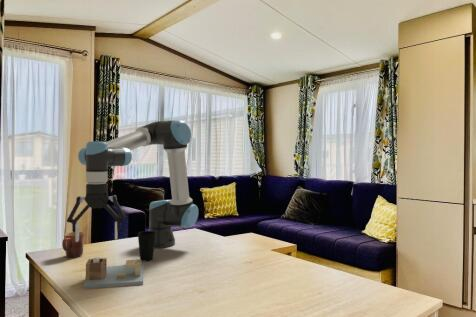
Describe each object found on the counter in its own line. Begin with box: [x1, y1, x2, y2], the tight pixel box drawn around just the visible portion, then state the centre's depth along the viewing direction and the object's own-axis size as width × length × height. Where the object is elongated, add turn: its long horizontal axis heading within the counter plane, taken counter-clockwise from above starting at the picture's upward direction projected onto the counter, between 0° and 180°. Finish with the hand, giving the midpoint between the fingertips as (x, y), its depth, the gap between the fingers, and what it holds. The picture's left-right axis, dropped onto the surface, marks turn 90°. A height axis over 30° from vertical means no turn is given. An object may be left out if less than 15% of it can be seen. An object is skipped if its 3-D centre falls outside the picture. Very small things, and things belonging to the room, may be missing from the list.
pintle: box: [92, 257, 101, 263], centre depth 133 cm, size 2×2×7 cm
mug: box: [61, 231, 86, 259], centre depth 163 cm, size 12×9×10 cm
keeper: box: [117, 258, 142, 279], centre depth 136 cm, size 8×8×4 cm
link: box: [85, 257, 108, 281], centre depth 137 cm, size 15×6×6 cm, turn 14°
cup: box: [137, 230, 155, 262], centre depth 160 cm, size 8×8×12 cm
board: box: [83, 263, 145, 290], centre depth 137 cm, size 20×21×1 cm
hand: (97, 240), depth 133 cm, fingers open, 13 cm apart
